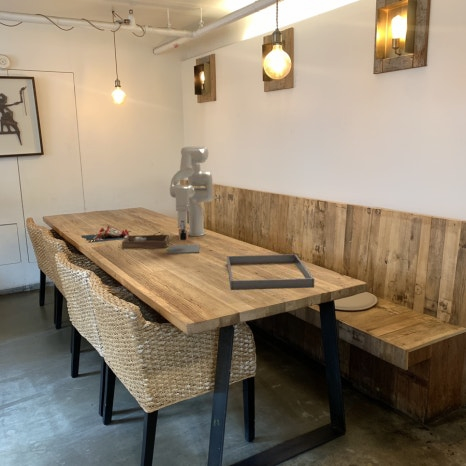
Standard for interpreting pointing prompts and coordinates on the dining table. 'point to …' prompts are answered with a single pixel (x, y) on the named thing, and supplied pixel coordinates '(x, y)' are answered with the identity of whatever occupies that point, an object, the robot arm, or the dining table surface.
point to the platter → (107, 235)
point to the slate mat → (183, 249)
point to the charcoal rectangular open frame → (269, 283)
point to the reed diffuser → (144, 238)
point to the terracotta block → (186, 235)
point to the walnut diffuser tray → (146, 242)
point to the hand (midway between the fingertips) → (183, 238)
